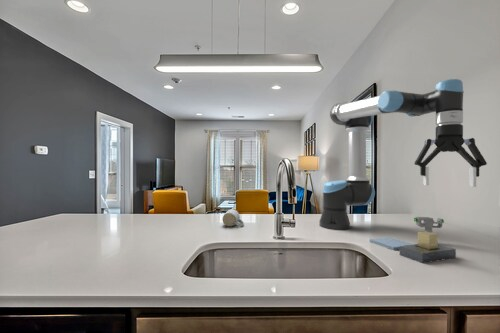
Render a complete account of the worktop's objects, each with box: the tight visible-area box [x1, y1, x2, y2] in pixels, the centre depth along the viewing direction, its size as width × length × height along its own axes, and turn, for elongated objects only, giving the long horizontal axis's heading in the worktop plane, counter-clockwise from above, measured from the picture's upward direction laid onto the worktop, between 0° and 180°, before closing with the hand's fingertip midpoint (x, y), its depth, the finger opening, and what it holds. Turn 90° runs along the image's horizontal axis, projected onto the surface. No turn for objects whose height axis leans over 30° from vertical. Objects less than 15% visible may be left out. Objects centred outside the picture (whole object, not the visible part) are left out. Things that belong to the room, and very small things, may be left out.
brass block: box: [417, 230, 439, 250], centre depth 86 cm, size 4×4×8 cm
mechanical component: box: [413, 216, 445, 233], centre depth 103 cm, size 3×10×10 cm, turn 78°
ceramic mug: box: [222, 208, 245, 227], centre depth 127 cm, size 11×8×8 cm
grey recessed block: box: [399, 243, 457, 264], centre depth 86 cm, size 8×16×3 cm, turn 110°
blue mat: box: [369, 236, 414, 251], centre depth 99 cm, size 11×11×1 cm
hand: (448, 185), depth 87 cm, fingers open, 13 cm apart
